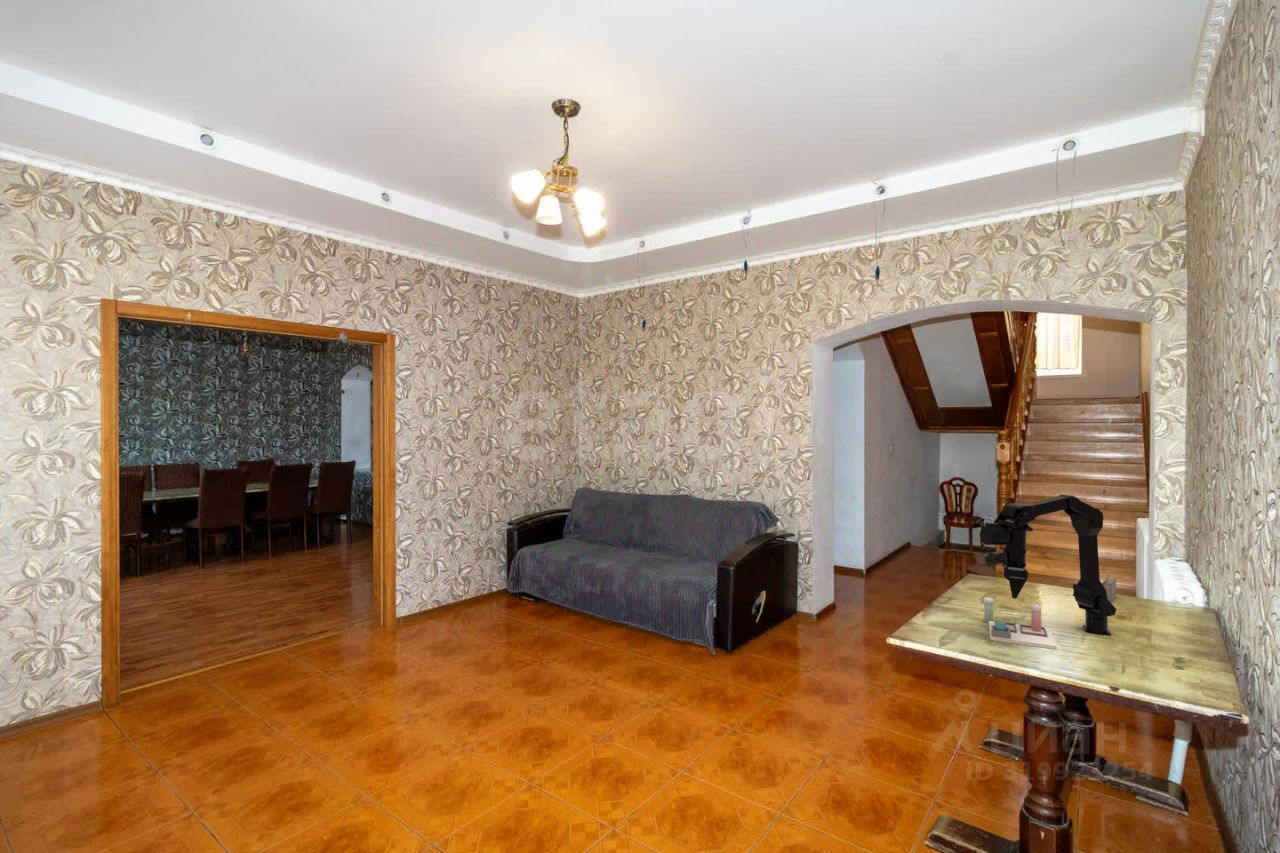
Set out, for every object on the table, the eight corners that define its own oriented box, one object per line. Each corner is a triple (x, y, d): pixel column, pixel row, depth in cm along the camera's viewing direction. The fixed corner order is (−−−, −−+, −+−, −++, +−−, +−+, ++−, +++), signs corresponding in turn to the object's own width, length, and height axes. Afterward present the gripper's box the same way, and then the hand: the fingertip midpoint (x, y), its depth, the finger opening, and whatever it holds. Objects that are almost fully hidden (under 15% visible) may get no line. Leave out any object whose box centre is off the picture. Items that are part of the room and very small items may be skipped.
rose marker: (1040, 629, 195) (1040, 604, 195) (1041, 632, 193) (1041, 606, 192) (1030, 628, 196) (1030, 603, 196) (1031, 631, 194) (1031, 605, 194)
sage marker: (984, 620, 208) (984, 596, 208) (993, 621, 206) (993, 597, 206) (984, 622, 205) (984, 598, 205) (993, 624, 204) (993, 599, 204)
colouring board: (988, 624, 204) (988, 614, 204) (1050, 632, 196) (1050, 622, 196) (989, 639, 189) (989, 630, 189) (1056, 649, 181) (1056, 639, 181)
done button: (995, 628, 192) (995, 621, 192) (1006, 630, 191) (1006, 622, 191) (995, 631, 190) (995, 623, 190) (1006, 633, 188) (1006, 625, 188)
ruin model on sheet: (1106, 597, 237) (1106, 571, 237) (1116, 598, 235) (1116, 573, 235) (1100, 603, 229) (1100, 576, 229) (1110, 604, 227) (1110, 578, 227)
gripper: (985, 537, 204) (983, 584, 204) (985, 546, 188) (984, 597, 188) (1024, 541, 199) (1023, 590, 199) (1028, 550, 182) (1027, 603, 182)
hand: (1013, 595), depth 192 cm, fingers open, 9 cm apart
